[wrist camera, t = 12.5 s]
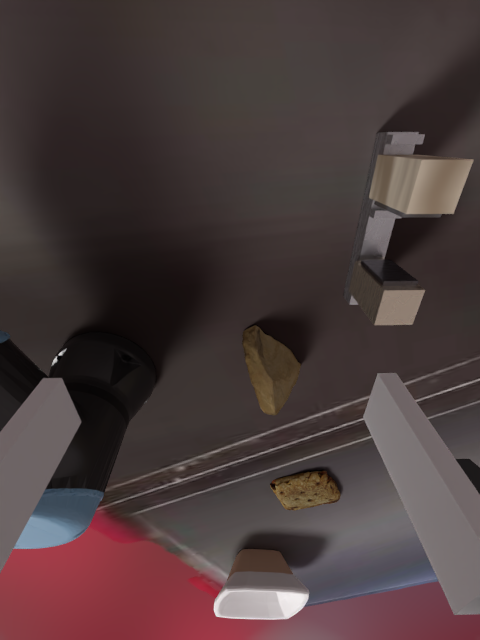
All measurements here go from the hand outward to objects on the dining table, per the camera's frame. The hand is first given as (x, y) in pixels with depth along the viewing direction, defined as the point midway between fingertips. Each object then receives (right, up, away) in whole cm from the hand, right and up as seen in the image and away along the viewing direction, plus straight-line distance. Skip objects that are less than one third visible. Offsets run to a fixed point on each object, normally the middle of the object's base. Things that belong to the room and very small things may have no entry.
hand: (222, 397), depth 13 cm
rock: (+6, -1, +33) cm, 33 cm away
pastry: (+16, -35, +55) cm, 67 cm away
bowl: (+6, -68, +74) cm, 101 cm away
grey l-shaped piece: (+17, +15, +23) cm, 32 cm away
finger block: (+17, +18, +18) cm, 30 cm away
